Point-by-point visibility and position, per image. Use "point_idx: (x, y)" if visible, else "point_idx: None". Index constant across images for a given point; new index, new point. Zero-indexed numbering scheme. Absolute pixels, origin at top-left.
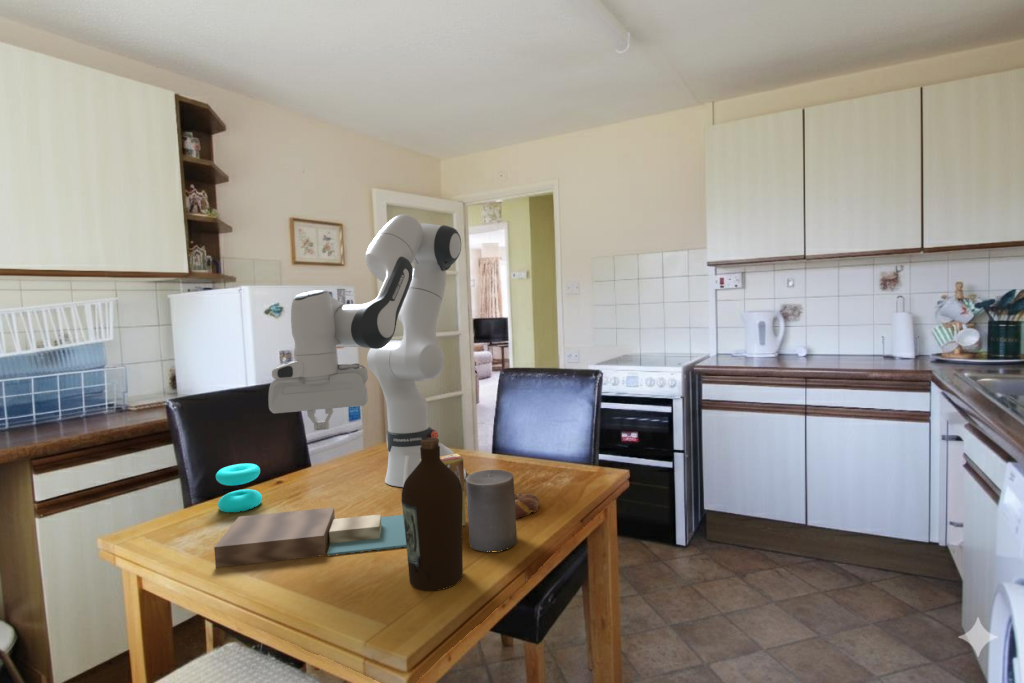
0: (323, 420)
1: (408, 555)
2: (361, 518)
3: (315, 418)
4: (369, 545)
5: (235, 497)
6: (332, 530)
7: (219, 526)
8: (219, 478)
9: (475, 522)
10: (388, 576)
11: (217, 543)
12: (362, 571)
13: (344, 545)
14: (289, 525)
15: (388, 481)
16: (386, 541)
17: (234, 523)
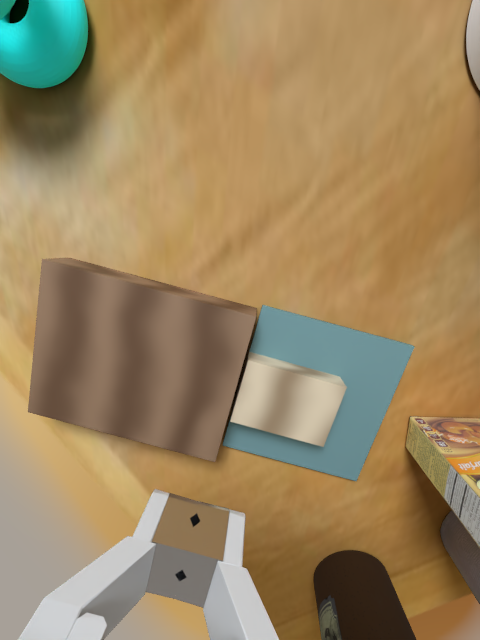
0: (200, 559)
1: (320, 628)
2: (302, 388)
3: (126, 590)
4: (293, 451)
5: (2, 42)
6: (236, 418)
7: (16, 176)
8: None
9: (474, 595)
10: (293, 544)
11: (29, 397)
12: (264, 514)
13: (254, 429)
14: (155, 378)
15: (475, 42)
16: (324, 451)
17: (40, 302)
